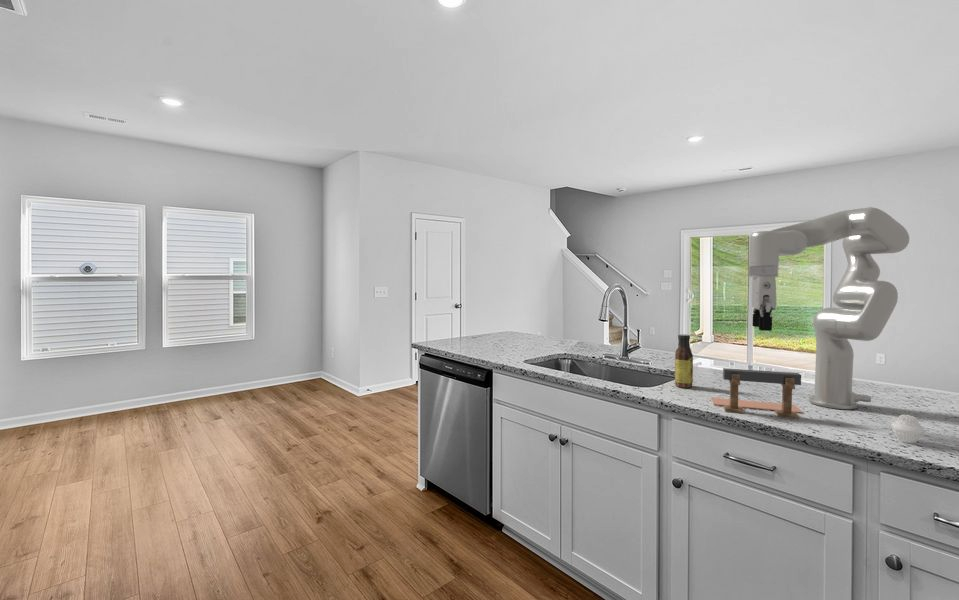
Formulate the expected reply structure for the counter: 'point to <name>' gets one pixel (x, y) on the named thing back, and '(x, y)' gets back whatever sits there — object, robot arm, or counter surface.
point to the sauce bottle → (683, 363)
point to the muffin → (907, 429)
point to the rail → (761, 376)
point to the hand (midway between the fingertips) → (761, 328)
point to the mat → (754, 404)
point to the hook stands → (781, 413)
